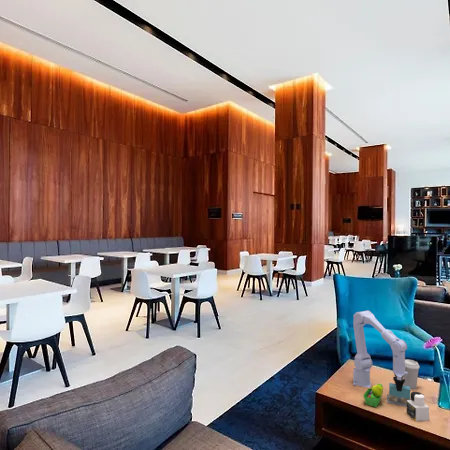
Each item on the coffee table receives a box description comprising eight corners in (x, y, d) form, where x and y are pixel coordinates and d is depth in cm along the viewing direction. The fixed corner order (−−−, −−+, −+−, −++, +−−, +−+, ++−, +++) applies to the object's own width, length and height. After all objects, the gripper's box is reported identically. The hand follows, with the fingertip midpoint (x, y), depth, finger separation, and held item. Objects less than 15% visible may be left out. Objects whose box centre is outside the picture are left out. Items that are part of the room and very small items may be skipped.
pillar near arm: (388, 400, 182) (388, 394, 182) (389, 397, 186) (389, 391, 186) (397, 402, 180) (397, 396, 180) (397, 398, 184) (397, 393, 184)
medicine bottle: (406, 414, 170) (406, 390, 170) (419, 413, 170) (419, 389, 171) (415, 422, 163) (415, 397, 163) (429, 421, 163) (429, 396, 163)
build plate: (386, 403, 180) (386, 402, 180) (387, 395, 189) (387, 394, 189) (412, 408, 175) (412, 407, 175) (411, 400, 184) (411, 399, 184)
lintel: (389, 394, 182) (389, 385, 182) (389, 391, 186) (389, 382, 186) (410, 399, 178) (410, 389, 178) (409, 395, 181) (409, 386, 181)
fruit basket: (368, 396, 187) (368, 376, 187) (385, 401, 182) (385, 381, 182) (362, 405, 178) (362, 384, 178) (380, 411, 173) (380, 389, 173)
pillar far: (401, 402, 180) (401, 397, 180) (401, 399, 183) (401, 394, 183) (409, 404, 178) (409, 399, 178) (409, 401, 181) (409, 395, 181)
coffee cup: (422, 392, 192) (422, 366, 192) (404, 390, 194) (404, 364, 194) (415, 384, 202) (415, 359, 202) (398, 383, 203) (398, 358, 203)
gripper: (407, 369, 174) (407, 395, 174) (406, 359, 187) (406, 383, 187) (392, 367, 177) (392, 392, 177) (392, 357, 190) (392, 381, 190)
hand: (399, 388), depth 182 cm, fingers open, 7 cm apart
